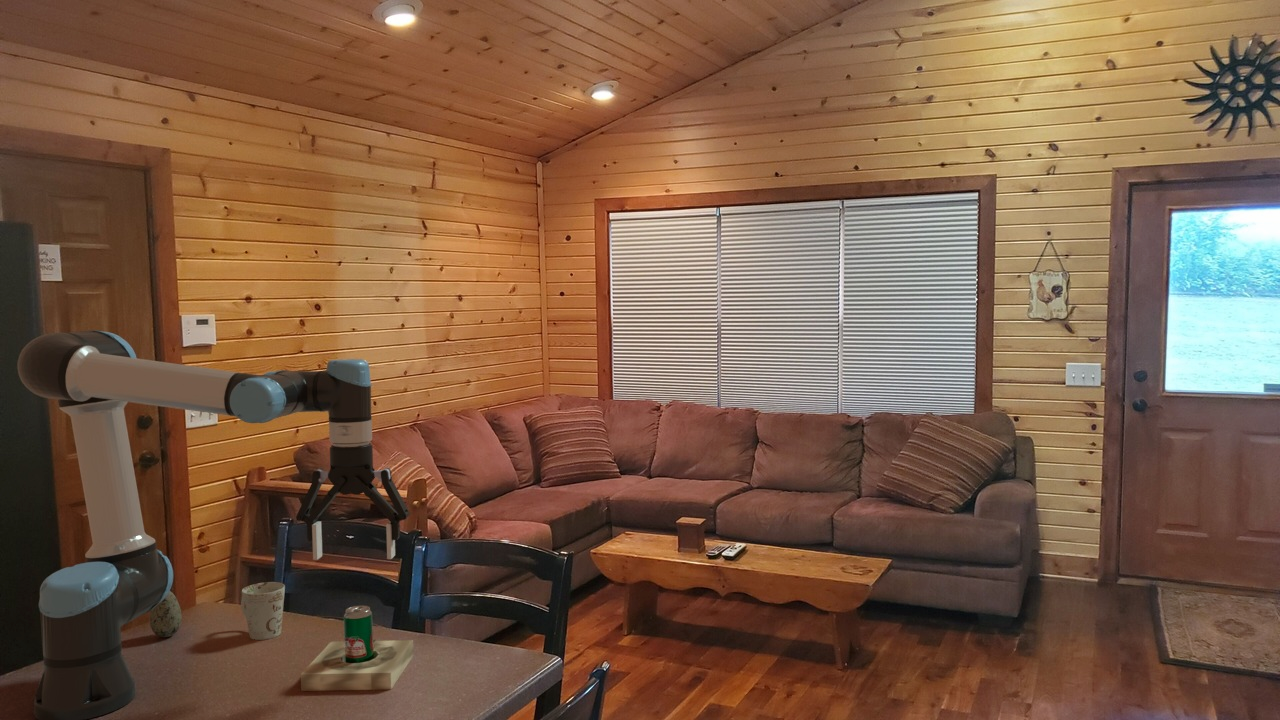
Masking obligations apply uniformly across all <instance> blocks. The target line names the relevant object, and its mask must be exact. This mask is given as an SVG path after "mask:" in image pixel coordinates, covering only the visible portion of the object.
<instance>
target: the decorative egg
mask: <svg viewBox="0 0 1280 720" xmlns="http://www.w3.org/2000/svg"><path fill="white" fill-rule="evenodd" d="M149 612H150V614H149V626H150V629H151V631H152V632H153V634H154V635H156V636H158V637H160V638H170V637H172V636H174V635H175V634H176V633H177V632H178V631H179V629H180V627H181V624H182V619H183V618H182V617H183V616H182V609H181V607H180V603H179V601H178V599H177V597H176V596H175V594H174V593H173V592H172V591H171V590H170V591H169V593H168V595H167V596H166V597H165V598H164V600H163V601H162V602H160V603H159V604H158V605H157V606H156V607H155V608H153V609H152V610H151V611H149Z"/></svg>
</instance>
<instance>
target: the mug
mask: <svg viewBox="0 0 1280 720" xmlns="http://www.w3.org/2000/svg"><path fill="white" fill-rule="evenodd" d="M285 589H286V585H285V584H284V583H282V582H280V581H279V582H277V581H276V582H275V581H268V582H267V581H266V582H259V583H255V584H251V585H247V586H245V587H243V588H242V590H241V601H240V609H241V611H242V614H243V616H244V617H245V619H246V623H247V629H248V634H249V635H248V636H249V639H252V640H254V639H255V641H263V640H269V639H273V638H276V637H278V636H279V635H281V634H282V633H281V632H282V625H283V615H284V614H283V613H284V601H285V591H286V590H285Z"/></svg>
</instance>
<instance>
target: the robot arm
mask: <svg viewBox="0 0 1280 720" xmlns="http://www.w3.org/2000/svg"><path fill="white" fill-rule="evenodd" d="M17 359H18V360H17V373H18V376H19V379H20V381H21V383H22V384H23V385H24V387H25V388H26V389H27V390H29V391H30V392H32V393H33V394H34V395H36V396H39V397H41V398H45V399H52V400H54V399H55V400H57V403H58V408H59V410H60V411H62V412H63V413H65V414H67V415H68V416H69V417H70V420H71V425H72V427H71V428H72V432H73V438H74V443H75V448H76V456H77V460H78V466H79V467H78V468H79V472H80V477H81V478H80V479H81V484H82V490H83V494H84V500H85V505H86V506H85V507H86V512H87V517H88V523H89V529H90V534H91V542H92V544H91V546H90V547H89V549H88V551H87V552H86V553H84V554H85V555H84V556H85V560H86V562H82V563H77V564H75V565H73V566H67V567H64V568H61V569H59V570H56V571H55V572H53V573H51V574H50V575H49V576H47V577H46V578H45V579H44V580H43V582H42V583H41V585H40V587H39V601H38V609H39V612H40V625H41V644H42V655H43V657H42V658H43V669H42V672H41V677H40V679H39V683H38V686H37V689H36V693H35V695H34V700H33V713H34V714H33V715H34V718H35V719H37V720H88V719H93V718H95V717H100V716H102V715H106V714H108V713H111V712H114V711H116V710H118V709H121V708H122V707H124V706H126V705H128V704H129V703H131V701H132V700H133V699H134V698H135V696H136V682H135V679H134V676H133V675H132V672H131V670H130V668H129V666H128V665H129V664H128V663H127V662H126V661H127V660H126V659H125V657H124V655H123V651H122V632H121V631H122V630H121V629H122V627H123V626H125V625H127V624H128V623H130V622H132V621H134V620H135V619H136V618H139V617H141V616H143V615H146V614H147V613H149V612H151V610H152V609H153V608H155V607H156V606H157V605H158V604H159V603H160V602H162V601H163V600H164V598H165V597H166V596H167V595H168V593H169V591H171V588H172V586H173V583H174V569H173V566H172V563H171V562H170V559H169V558H168V556H167V555H164V554H163V552H162V551H161V550H159V549H158V548H157V542H156V539H155V538H154V537H152V536H151V535H148V534H147V533H146V532H145V525H144V521H143V515H142V510H141V503H140V498H139V491H138V487H137V485H138V484H137V481H136V480H137V479H136V474H135V468H134V462H133V458H132V457H133V456H132V450H131V446H130V445H131V444H130V439H129V433H128V432H129V431H128V427H127V426H128V425H127V422H126V413H125V407H126V406H127V404H128V403H133V404H140V405H141V404H142V405H149V406H155V407H164V408H169V409H171V408H172V409H177V410H185V411H186V410H187V411H192V412H193V411H194V412H200V413H201V412H202V413H208V414H216V415H221V416H228V417H229V416H230V417H235V418H238V419H239V420H240V421H242V422H244V423H247V424H264V423H267V422H268V423H269V422H271V421H273V420H274V419H279V418H282V417H285V416H289V415H292V414H296V413H307V412H309V413H311V412H312V413H313V412H314V413H315V412H316V413H317V412H320V413H322V412H323V413H324V412H327V413H328V427H329V428H328V429H329V430H328V434H329V435H328V436H329V438H328V439H329V443H330V444H332V445H330V447H329V465H330V467H329V468H330V469H329V470H324V469H323V468H318V469H316V470H314V471H313V472H312V477H311V484H310V485H309V488H308V490H307V493H306V495H305V496H304V499H303V501H302V503H301V505H300V508H299V510H298V512H297V514H296V516H295V519H296V521H298V522H304V523H305V524H306V528H307V529H306V532H307V533H306V534H307V540H308V542H312V561H318V560H320V559H321V558H322V557H323V537H322V536H323V534H322V532H323V531H322V520H321V521H317V520H318V519H319V517H321V515H322V514H323V513H324V511H325V510H326V509H327V508H328V506H330V504H331V503H332V502H333V501H334V499H335V498H336V497H337V495H339V494H341V495H343V496H347V495H348V496H349V495H357V496H359V495H362V494H363V495H365V496H366V497H367V498H368V499H370V500H371V502H372V503H373V504H374V505H375V506H376V507H377V508H378V509H379V511H380V512H381V513H382V514H383V516H385V518H386V519H387V520H388V522H387V523H385V524H386V528H385V529H386V530H385V531H386V560H392V559H393V558H394V557H395V556H396V541H398V540H399V539H400V537H401V527H400V526H401V525H400V523H401V521H405V520H406V519H408V517H409V516H410V515H411V514H410V511H409V509H408V508H407V505H406V503H405V501H404V499H403V498H402V496H401V494H400V491H399V490H398V489H397V486H396V484H395V483H394V481H393V477H392V470H391V469H390V468H388V467H386V468H384V469H381V470H375V468H374V459H373V458H374V457H373V456H374V455H373V451H374V450H373V444H371V443H370V442H371V441H373V423H372V421H373V420H372V381H371V371H370V370H371V369H370V364H369V362H368V361H367V360H365V359H361V358H360V359H358V358H356V359H355V358H354V359H353V358H352V359H351V358H347V359H345V358H344V359H342V358H341V359H331V360H329V361H327V364H326V369H325V370H319V371H317V370H315V371H314V370H284V369H282V370H276V371H275V370H274V371H267V372H266V373H265V372H264V374H263V375H260V374H253V373H245V372H243V373H242V372H237V371H231V370H230V371H229V370H223V369H216V368H211V367H210V368H209V367H201V366H194V365H188V364H187V365H186V364H181V363H179V364H178V363H172V362H165V361H159V360H158V361H157V360H151V359H143V358H137V355H136V353H135V351H134V349H133V347H132V346H131V345H130V344H129V342H128V341H127V340H125V339H123V338H122V336H119V335H117V334H115V333H112V332H109V331H101V330H83V331H69V332H49V333H45V334H42V335H40V336H37V337H36V338H34V339H32V340H31V341H29V342H28V343H27V344H26V345H25V346H24V347H23V348H22V350H21V352H20V354H19V355H18V358H17ZM327 478H328V480H329V481H330V482H331V484H332V487H331V488H330V490H328V492H327V493H326V495H324V497H323V498H322V499H321V500H320V501H319V503H318V505H316V507H315V508H314V509H313V510H312V512H311V513H310V510H311V508H312V506H313V504H314V502H315V500H316V498H317V495H318V493H319V492H320V489H321V487H322V484H323V483H325V481H326V480H327ZM375 478H377V480H378V481H379V482H380V483H382V486H383V488H384V490H385V492H386V494H387V496H388V498H389V500H390V502H391V503H392V505H391V504H390V503H389V502H388V501H387V500H386V498H385V497H384V496H383V495H382V494H381V492H379V490H378V488H377V487H376V486H375V485H374V483H372V482H374V480H375Z"/></svg>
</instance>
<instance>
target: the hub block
mask: <svg viewBox="0 0 1280 720" xmlns="http://www.w3.org/2000/svg"><path fill="white" fill-rule="evenodd" d="M373 649H374V659H372V660H370V661H367V662H362V663H346V662H345V640H344V641H330V642H329V643H328V644H327V646H325V647H324V648H323V650H322V651H321V652H320V653H319V654H318V655H317V656H316V657H315V658H314V659H313V661H311V662H310V664H309V665H308V666H306V668H305V669H304V670H303V671H302V672H301V674H300V688H301V691H303V692H306V691H307V692H308V691H311V692H312V691H367V690H369V691H371V690H375V691H377V690H392V689H393V687H394V686H395V684H396V683H397V681H398V679H399V678H400V677H401V676H402V674H403V672H404V671H405V669H406V668H407V666H408V665H409V663H410V661H411V660H412V659H413V657H414V655H415V653H414V640H413V639H407V640H406V639H404V640H399V639H398V640H376V639H373ZM301 691H300V692H301Z"/></svg>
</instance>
